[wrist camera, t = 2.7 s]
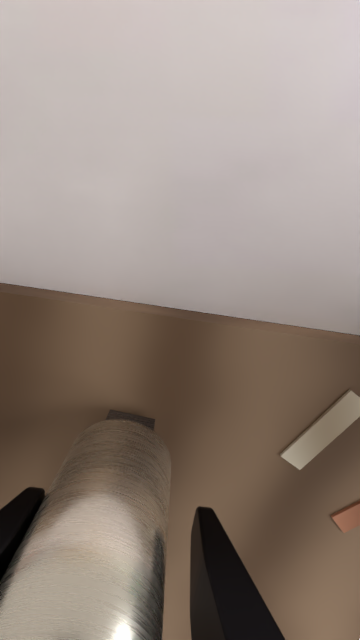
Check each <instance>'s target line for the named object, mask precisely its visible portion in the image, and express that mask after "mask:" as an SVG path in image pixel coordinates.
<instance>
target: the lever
mask: <svg viewBox="0 0 360 640" xmlns="http://www.w3.org/2000/svg"><path fill="white" fill-rule="evenodd" d="M154 425H155V419H152V418H148V417H143V416H138V415H134V414H129V413H124V412H119V411H115V410H110V411H109V413H108V415H107V418H106V420H105V421H102V422H99V423H96V424H94V425H92V426H90V427H88V428H87V429H85V430H84V431H83V432H82V433H80V435H79V436H78V437H77V438H76V440H75V441H74V443H73V445H72V447H71V449H70V451H69V452H68V454H67V456H66V458H65V460H64V462H63V464H62V466H61V467H60V469H59V471H58V473H57V475H56V477H55V479H54V481H53V483H52V484H51V486H50V488H49V490H48V492H47V494H46V496H45V498H44V499H43V501H42V503H41V505H40V507H39V509H38V511H37V513H36V515H35V516H34V518H33V520H32V522H31V524H30V526H29V528H28V530H27V532H26V533H25V535H24V537H23V539H22V541H21V543H20V545H19V547H18V548H17V550H16V552H15V554H14V556H13V558H12V560H11V562H10V564H9V565H8V567H7V569H6V571H5V573H4V575H3V577H2V579H1V580H0V640H162V634H163V614H164V595H165V575H166V556H167V536H168V516H169V497H170V477H171V457H170V454H169V451H168V448H167V446H166V445H165V443H164V442H163V440H162V439H161V438H160V437H159V436H158V435H157V434H156V433H155V432H154Z"/></svg>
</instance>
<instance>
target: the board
mask: <svg viewBox="0 0 360 640" xmlns="http://www.w3.org/2000/svg"><path fill="white" fill-rule="evenodd" d="M110 410H115V411H119V412H124V413H129V414H134V415H138V416H143V417H148V418H152V419H155V425H154V432H155V433H156V434H157V435H158V436H159V437H160V438H161V439H162V440H163V442H164V443H165V445H166V446H167V448H168V451H169V454H170V457H171V477H170V497H169V516H168V536H167V556H166V575H165V595H164V614H163V634H162V640H192V639H191V625H190V547H191V530H192V525H193V520H194V516H195V511H196V508H197V507H198V506H202V507H210V508H212V509H213V510H214V512H215V513H216V515H217V517H218V519H219V521H220V522H221V524H222V526H223V528H224V530H225V531H226V533H227V535H228V537H229V539H230V540H231V542H232V544H233V546H234V548H235V549H236V551H237V553H238V555H239V557H240V558H241V560H242V562H243V564H244V566H245V567H246V569H247V571H248V573H249V575H250V576H251V578H252V580H253V582H254V584H255V585H256V587H257V589H258V591H259V593H260V594H261V596H262V598H263V600H264V602H265V603H266V605H267V607H268V609H269V611H270V612H271V614H272V616H273V618H274V620H275V621H276V623H277V625H278V627H279V629H280V630H281V632H282V634H283V636H284V638H285V639H286V640H359V638H360V336H358V335H351V334H344V333H338V332H331V331H324V330H317V329H310V328H304V327H297V326H290V325H283V324H276V323H270V322H263V321H256V320H249V319H242V318H236V317H229V316H222V315H215V314H208V313H202V312H195V311H188V310H181V309H174V308H168V307H161V306H154V305H147V304H140V303H134V302H127V301H120V300H113V299H106V298H100V297H93V296H86V295H79V294H72V293H66V292H59V291H52V290H45V289H38V288H32V287H25V286H18V285H11V284H4V283H0V509H2V508H3V507H4V506H5V505H6V504H8V503H9V502H10V501H11V500H12V499H14V498H15V497H16V496H17V495H19V494H20V493H21V492H22V491H23V490H25V489H26V488H28V487H38V488H43V489H44V490H45V496H46V494H47V492H48V490H49V488H50V486H51V484H52V483H53V481H54V479H55V477H56V475H57V473H58V471H59V469H60V467H61V466H62V464H63V462H64V460H65V458H66V456H67V454H68V452H69V451H70V449H71V447H72V445H73V443H74V441H75V440H76V438H77V437H78V436H79V435H80V433H82V432H83V431H84V430H85V429H87V428H88V427H90V426H92V425H94V424H96V423H99V422H102V421H105V420H106V418H107V415H108V413H109V411H110Z"/></svg>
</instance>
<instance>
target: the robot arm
mask: <svg viewBox="0 0 360 640" xmlns="http://www.w3.org/2000/svg"><path fill="white" fill-rule="evenodd" d="M44 498H45V490H44V489H43V488H38V487H28V488H26V489H25V490H23V491H22V492H21V493H20V494H19V495H17V496H16V497H15V498H14V499H12V500H11V501H10V502H9V503H8V504H6V505H5V506H4V507H3V508H2V509H0V580H1V579H2V577H3V575H4V573H5V571H6V569H7V567H8V565H9V564H10V562H11V560H12V558H13V556H14V554H15V552H16V550H17V548H18V547H19V545H20V543H21V541H22V539H23V537H24V535H25V533H26V532H27V530H28V528H29V526H30V524H31V522H32V520H33V518H34V516H35V515H36V513H37V511H38V509H39V507H40V505H41V503H42V501H43V499H44ZM190 625H191V639H192V640H286V639H285V638H284V636H283V634H282V632H281V630H280V629H279V627H278V625H277V623H276V621H275V620H274V618H273V616H272V614H271V612H270V611H269V609H268V607H267V605H266V603H265V602H264V600H263V598H262V596H261V594H260V593H259V591H258V589H257V587H256V585H255V584H254V582H253V580H252V578H251V576H250V575H249V573H248V571H247V569H246V567H245V566H244V564H243V562H242V560H241V558H240V557H239V555H238V553H237V551H236V549H235V548H234V546H233V544H232V542H231V540H230V539H229V537H228V535H227V533H226V531H225V530H224V528H223V526H222V524H221V522H220V521H219V519H218V517H217V515H216V513H215V512H214V510H213V509H212V508H210V507H202V506H198V507H197V508H196V511H195V516H194V520H193V525H192V530H191V547H190Z"/></svg>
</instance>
